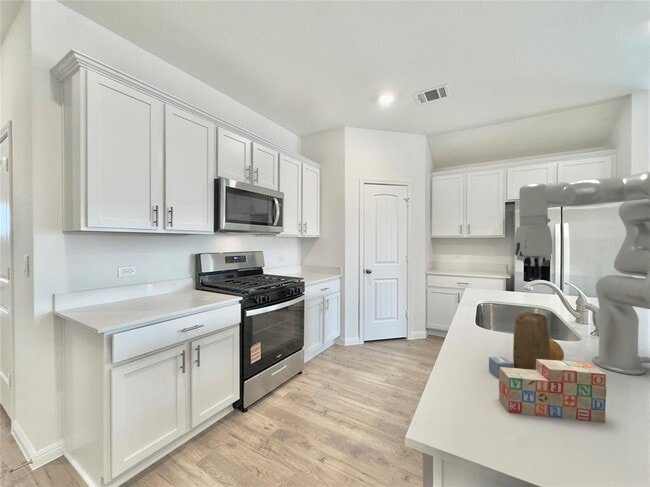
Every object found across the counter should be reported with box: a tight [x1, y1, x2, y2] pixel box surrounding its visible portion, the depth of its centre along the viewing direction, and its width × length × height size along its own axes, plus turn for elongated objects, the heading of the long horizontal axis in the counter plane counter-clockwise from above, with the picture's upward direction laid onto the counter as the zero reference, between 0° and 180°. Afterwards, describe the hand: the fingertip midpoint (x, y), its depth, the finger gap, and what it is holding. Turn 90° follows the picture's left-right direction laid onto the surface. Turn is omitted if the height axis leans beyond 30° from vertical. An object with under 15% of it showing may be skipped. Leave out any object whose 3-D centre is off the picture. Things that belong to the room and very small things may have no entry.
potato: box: [549, 337, 565, 361], centre depth 104 cm, size 10×13×9 cm
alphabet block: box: [488, 356, 514, 380], centre depth 94 cm, size 5×5×5 cm
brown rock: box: [512, 311, 550, 370], centre depth 93 cm, size 11×8×20 cm
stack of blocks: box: [498, 359, 607, 424], centre depth 74 cm, size 21×6×12 cm, turn 78°
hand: (533, 277), depth 95 cm, fingers closed
